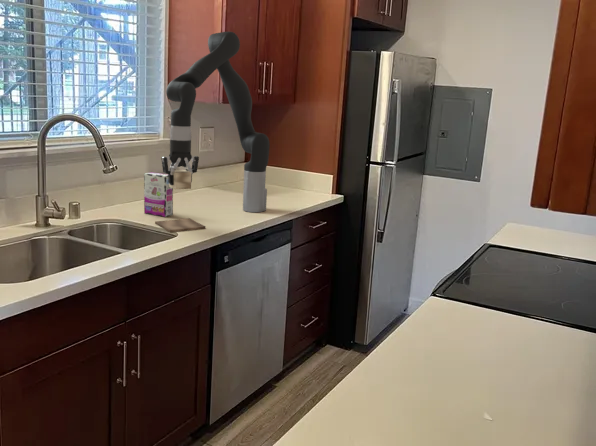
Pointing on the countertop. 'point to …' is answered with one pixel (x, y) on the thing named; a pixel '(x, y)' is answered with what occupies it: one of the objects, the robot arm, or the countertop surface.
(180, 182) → the maple cube
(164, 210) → the candy bar box
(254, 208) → the robot arm
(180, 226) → the walnut board
